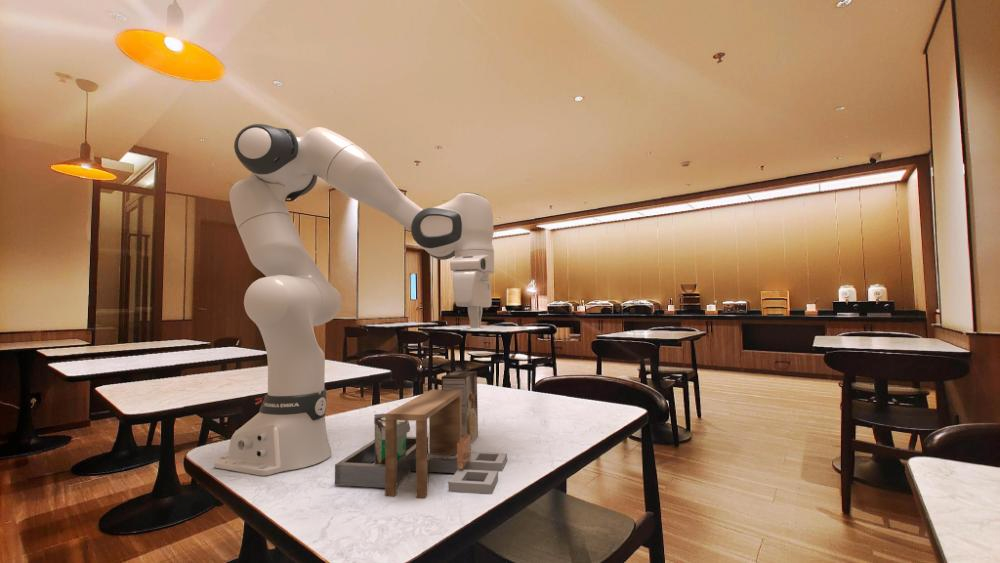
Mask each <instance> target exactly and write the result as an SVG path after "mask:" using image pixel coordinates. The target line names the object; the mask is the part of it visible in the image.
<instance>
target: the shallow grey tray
mask: <svg viewBox="0 0 1000 563" xmlns="http://www.w3.org/2000/svg"><path fill="white" fill-rule="evenodd" d="M471 452H472V444H471V434H465V435H464V436H463V437H462V438H461V440H460V441H459V442H458V443H457V455H456V457H439V456H434V457H433V456H428V455H429V437H428V436H427V473H429V472H430V473H431V472H432V473H446V474H447V473H448V474H455V473H456V471H457V470H458V469H465V470H466V464H467V462H468V461H469V459H470V458H471ZM373 462H375V439H374V440H372V441H370V442H369V443H367V444H365V445H363V446H362V447H360V448H359V449H357V450H356V451H354V452H352V453H351V454H350V455H348V456H346V457H345V458H343V459H341V460H339V461H338V462H337V463H335V464H334V485H335V486H350V487H351V486H353V487H367V488H368V487H369V488H382V489H383V488H384V489H385V464H375V463H373ZM410 472H416V436H407V438H406V452H405V453H404V454H403V455H402V456H400V457H399V458H398V459H397V484H399V483H400V482H401V481H402V480H403V479H404V478H405V477H406V476H407V475H408V474H409V473H410Z"/></svg>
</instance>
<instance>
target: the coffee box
mask: <svg viewBox="0 0 1000 563" xmlns="http://www.w3.org/2000/svg"><path fill="white" fill-rule="evenodd" d="M441 390H461V409H462V437H463V436H464V435H465V434H471V445H472V444H473V442H475V441H476V439H477V438H478V437H479V421H478V420H479V417H478V412H479V411H478V408H479V407H478V372H477V371H476V370H475V371H473V370H472V371H468V370H467V371H466V370H463V371H462V370H461V371H460V370H458V371H457V370H454V371H452V372H449V373H447V374H445V375H442V376H441Z"/></svg>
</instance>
